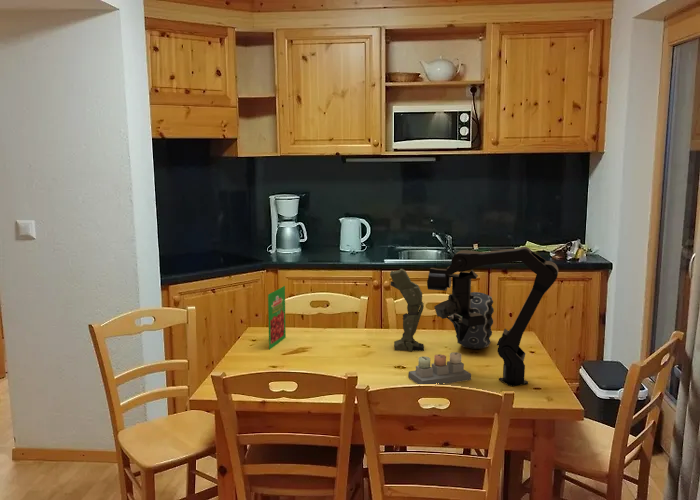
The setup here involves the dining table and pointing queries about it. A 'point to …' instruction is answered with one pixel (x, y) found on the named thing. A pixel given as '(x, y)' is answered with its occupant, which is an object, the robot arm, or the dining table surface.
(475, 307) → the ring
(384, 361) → the dining table surface
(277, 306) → the tomato puree packet
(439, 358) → the terracotta key
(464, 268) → the robot arm
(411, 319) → the mechanical leg
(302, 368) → the dining table surface
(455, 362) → the cream key
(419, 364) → the sage key
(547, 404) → the dining table surface
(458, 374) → the grey button panel
